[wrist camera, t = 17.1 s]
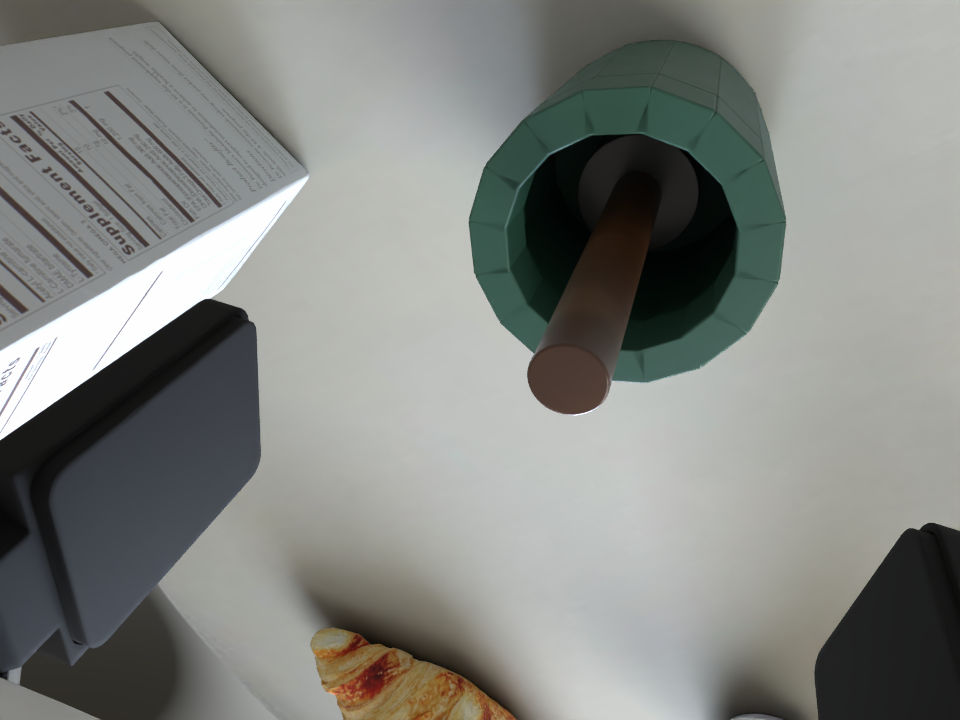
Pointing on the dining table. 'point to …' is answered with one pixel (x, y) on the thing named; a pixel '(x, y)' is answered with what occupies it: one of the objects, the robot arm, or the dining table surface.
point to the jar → (667, 270)
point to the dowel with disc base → (611, 263)
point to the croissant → (395, 683)
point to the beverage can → (755, 717)
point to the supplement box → (118, 201)
